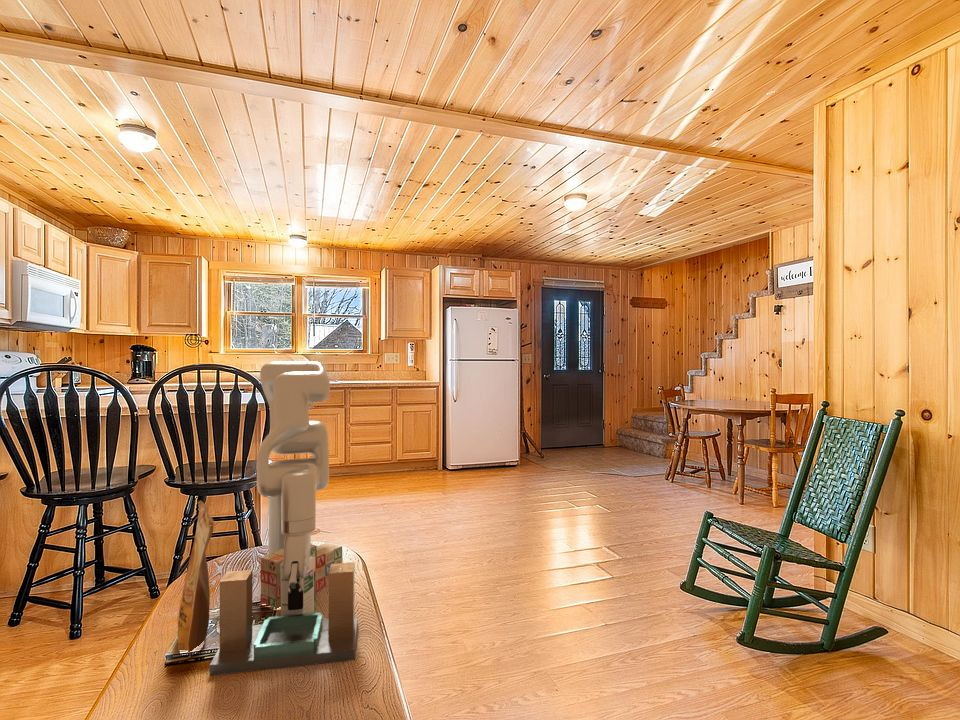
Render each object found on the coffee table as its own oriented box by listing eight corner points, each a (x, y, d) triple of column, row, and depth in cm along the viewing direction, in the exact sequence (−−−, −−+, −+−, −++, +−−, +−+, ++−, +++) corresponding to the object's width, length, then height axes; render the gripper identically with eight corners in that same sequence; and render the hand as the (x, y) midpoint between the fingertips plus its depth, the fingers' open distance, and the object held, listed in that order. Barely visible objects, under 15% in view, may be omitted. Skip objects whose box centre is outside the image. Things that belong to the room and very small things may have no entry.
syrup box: (303, 629, 114) (303, 564, 114) (279, 626, 115) (279, 562, 115) (316, 616, 120) (316, 555, 120) (293, 614, 121) (293, 553, 121)
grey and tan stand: (230, 636, 111) (230, 563, 111) (357, 624, 116) (357, 554, 116) (209, 675, 97) (209, 592, 97) (354, 659, 102) (354, 580, 102)
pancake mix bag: (214, 614, 120) (214, 496, 120) (213, 656, 103) (213, 519, 103) (181, 621, 117) (181, 500, 117) (174, 665, 100) (175, 524, 100)
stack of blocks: (327, 574, 143) (327, 531, 143) (343, 579, 140) (343, 535, 140) (259, 606, 125) (260, 556, 125) (276, 612, 122) (276, 561, 122)
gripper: (288, 514, 125) (288, 585, 125) (273, 538, 108) (273, 621, 108) (319, 512, 127) (319, 583, 127) (310, 535, 110) (310, 618, 110)
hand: (298, 600), depth 117 cm, fingers closed on syrup box, 7 cm apart
